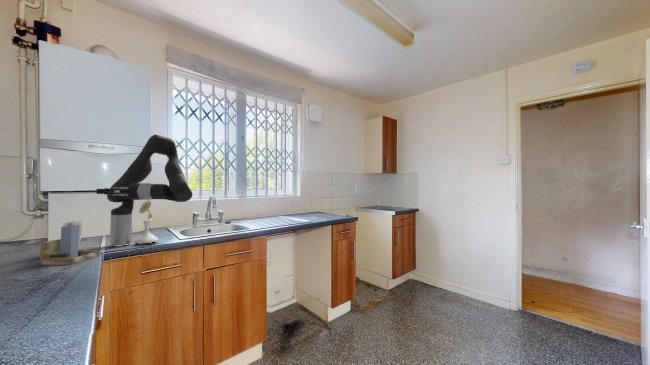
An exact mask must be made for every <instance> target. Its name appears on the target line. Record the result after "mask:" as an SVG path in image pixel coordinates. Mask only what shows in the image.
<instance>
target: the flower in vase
mask: <svg viewBox="0 0 650 365" xmlns="http://www.w3.org/2000/svg"><path fill="white" fill-rule="evenodd" d="M151 206H152V201H151V200H145V202H143V203H142V204H141V205H140V208H139V211H138V212H139V213H140V214H143V216H144V217H146V218H147V219H141V222H143V225H144V231H143V233H142V234H141V235H140V236H138V237H137V238H136V239H135V240H134V244H136V243H138V244H137V245H142V244H141V243H150V242H155V241H157V242H159V238H158V237H157V236H156V235H153V234H152V232H151V231H150V226H151V223H152V222H153V219H152V217H153V216H152V214H151V212H150V210H149V209H150V208H151ZM147 211H148V214H146V212H147ZM155 243H156V242H155Z"/></svg>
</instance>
